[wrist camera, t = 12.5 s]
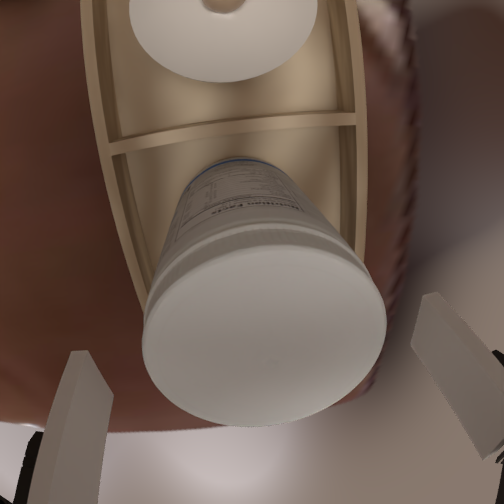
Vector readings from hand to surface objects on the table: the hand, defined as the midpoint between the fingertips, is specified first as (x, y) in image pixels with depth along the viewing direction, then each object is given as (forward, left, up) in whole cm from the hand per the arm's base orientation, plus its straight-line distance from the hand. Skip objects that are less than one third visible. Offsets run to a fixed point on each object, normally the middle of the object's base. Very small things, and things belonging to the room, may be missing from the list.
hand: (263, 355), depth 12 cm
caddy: (0, +7, -15) cm, 17 cm away
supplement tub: (0, 0, -15) cm, 15 cm away
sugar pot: (0, +14, -14) cm, 20 cm away
